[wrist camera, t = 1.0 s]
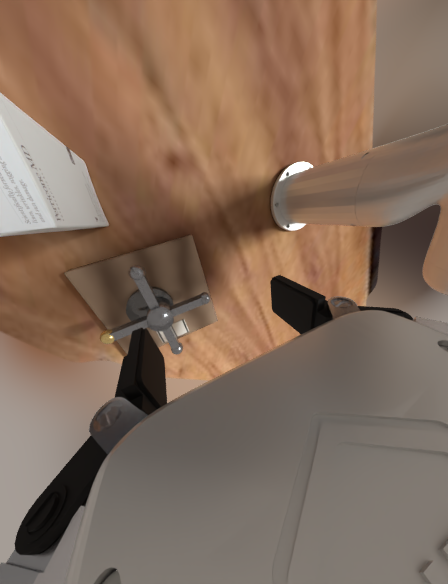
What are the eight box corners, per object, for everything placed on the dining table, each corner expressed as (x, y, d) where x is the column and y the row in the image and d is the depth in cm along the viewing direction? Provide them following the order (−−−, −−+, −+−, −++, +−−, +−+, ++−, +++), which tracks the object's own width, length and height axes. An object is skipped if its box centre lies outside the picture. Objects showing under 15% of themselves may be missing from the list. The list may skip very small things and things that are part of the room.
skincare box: (110, 225, 25) (67, 234, 12) (62, 231, 23) (-46, 248, 10) (82, 156, 21) (-22, 65, 8) (23, 156, 19) (-225, 40, 6)
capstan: (189, 242, 28) (197, 247, 23) (214, 320, 37) (224, 336, 32) (74, 277, 24) (52, 293, 19) (133, 355, 33) (129, 381, 28)
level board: (190, 234, 29) (192, 235, 28) (215, 317, 39) (218, 321, 38) (68, 270, 25) (62, 273, 23) (131, 354, 35) (130, 360, 33)
